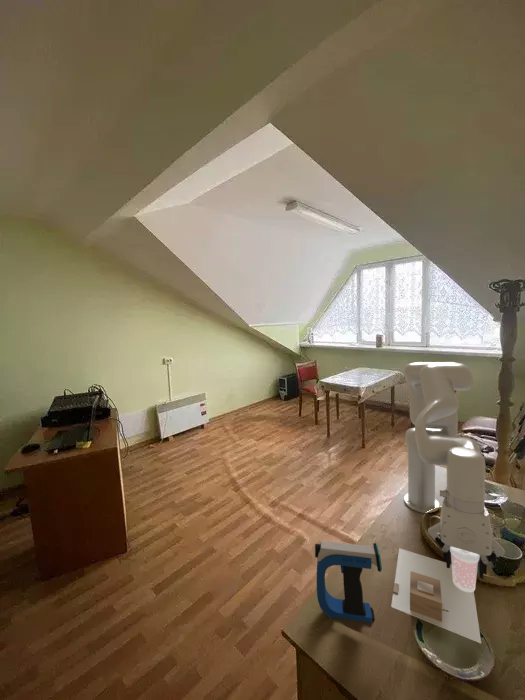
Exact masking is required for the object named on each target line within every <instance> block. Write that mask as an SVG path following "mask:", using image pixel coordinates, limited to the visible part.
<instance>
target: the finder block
mask: <svg viewBox="0 0 525 700" xmlns="http://www.w3.org/2000/svg"><path fill="white" fill-rule="evenodd" d="M410 610H411V611H414V612H417V613H419V614H422V615H425V616H428V617H430V618H433V619H436V620H438V621H441V622H442V598H441V585H440V580H437V579H434V578H431V577H428V576H425V575H422V574H418V573H415V572H412V571H411V573H410Z"/></svg>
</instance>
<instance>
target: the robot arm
mask: <svg viewBox="0 0 525 700" xmlns="http://www.w3.org/2000/svg"><path fill="white" fill-rule="evenodd" d="M403 375H404V379H405V383H406V384H407V387H408V390H409V420H410V422H411V423H412V424H413V425H414V427H411V428H408V429H407V430H406V431H405V434H404V435H405V436H404V437H405V443H406V444H405V445H406V450H407V465H408V466H407V480H408V481H407V485H408V486H407V493H406V494H405V495H404V497H403V501H404V504H405V505H406V506H407V507H409V509H411V510H413V511H415V512H419V513H422V514H426V513H425V512H427V511H429V510H431V509H434V508H436V507H439V506H440V502H439V500H437V499H436V466H444V467H445V466H446V489H443V490H439V497H443V498H444V499H443V501H442V505H441V509H440V520H439V522H438V523H435V524H434V525H432V526H430V527H428V529H427V533H428V535H429V536H430V538H432V539H433V540H435V541H434V542H435V543H437V545H438V546H439V547H440V548H441V550H442V562H445V563H446V565H447V568H450V564H451V552H450V547H455V548H458V549H462V550H465V551H469V552H472V553H476V554H479V555H480V558H479V561H478V566H477V573H478V577H479V579H480V580H484V575H487V573H488V572H487V567H488V565H489V564H490V562H492V561H495V560H496V559H497V558H500V557H502V556H504V555H506V551H505V548H504V547H503V546H502V545H501V544H500V543H499V542H498V541H497V540H496V539H495V538H494V537H493V536H492V525H491V518H490V515H489V514H490V513H489V511H488V509H487V508H486V506H485V494H486V493H485V487H486V486H485V485H486V459H485V457H484V455H483V453H482V449H481V447H480V445H479V444H478V443H477V441H476V440H474V439H472V438H470V437H466V436H458V432H459V431H458V427H459V425H458V424H459V420H458V419H459V416H458V410H459V406H460V401H459V400H458V398H457V394H456V391H469V390H470V389H471V388H472V387H473V384H474V375H473V373H472V371H471V369H470V367H468V365H466V364H464V363H460V362H454V361H445V362H444V361H443V362H441V361H435V362H434V361H433V362H432V361H424V362H423V361H417V362H410V363H407V364H406V365H405V366H404V368H403ZM438 533H439V534H438Z"/></svg>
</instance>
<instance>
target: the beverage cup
mask: <svg viewBox="0 0 525 700" xmlns="http://www.w3.org/2000/svg"><path fill="white" fill-rule="evenodd" d="M479 558H480V555H479V554H476V553H472V552H469V551H465V550H462V549H458V548H455V547H450V562H451V564H452V576H453V583H454V584H455V586H456V587H458V588H459V589H460V590H462V591H465V592H473V591H474V592H475V590H476V583H477V575H478V561H479Z"/></svg>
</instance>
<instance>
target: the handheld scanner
mask: <svg viewBox="0 0 525 700" xmlns="http://www.w3.org/2000/svg"><path fill="white" fill-rule="evenodd" d="M372 543H373V542H372ZM314 550H315V551H314V557H315V558H316V561H317V562H316V597H317V602H318V605H319V607H320V609H321V611H322V612H323V613H324V614H325V615H326V616H327V617H329V618H330V619H332V620H334V618H336V619H342V620H349V621H356V622H362V623H369V624H372V623H373V622H374V621H375V620H376V619H375V618H376V617H375V612H374V609H373V607H372V606H371V604H370V602H364V599H363V597H364V594H363V586H362V582H361V575H362V572H363V569H369V570H371V569H372V565H374V566H375V567H376V568H377V569H376V570H377V572H380V573H381V572H382V570H383V568H382V567H383V566H382V561H381V560H382V559H381V554H380V550H379V545H378V544H377V543H376V542H374V543H373V546H371V545H370V546H369V545H361V544H354V543H353V544H352V543H345V542H343V543H342V542H337V541H336V542H333V541H325V540H321V541H320V543H315V544H314ZM333 566H339V567H340V571H341V572H340V573H341V574H342V575H343V576H342V577H343V578H342V581H343V592H344V599H342V598H336V597H334V596H333V595H331V594H330V593H329V592H328V590H327V587H326V571H327V569H329V568H330V567H333Z"/></svg>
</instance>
